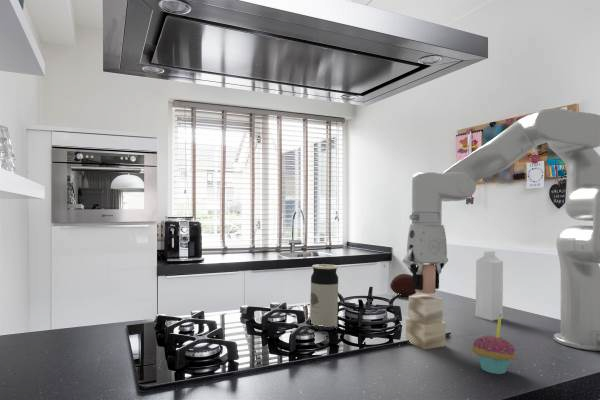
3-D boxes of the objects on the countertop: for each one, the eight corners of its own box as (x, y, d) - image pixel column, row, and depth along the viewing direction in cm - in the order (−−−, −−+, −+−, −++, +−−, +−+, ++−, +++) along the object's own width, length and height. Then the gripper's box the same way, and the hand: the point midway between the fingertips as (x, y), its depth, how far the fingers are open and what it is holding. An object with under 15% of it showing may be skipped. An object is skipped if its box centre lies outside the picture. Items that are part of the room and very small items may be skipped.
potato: (422, 298, 163) (422, 275, 163) (392, 298, 163) (393, 275, 163) (415, 294, 172) (415, 272, 172) (387, 293, 171) (387, 271, 172)
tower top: (442, 322, 104) (442, 298, 104) (425, 324, 101) (425, 300, 102) (425, 316, 109) (425, 294, 110) (408, 318, 107) (408, 296, 107)
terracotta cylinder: (439, 292, 105) (439, 265, 105) (424, 294, 102) (425, 266, 103) (425, 289, 109) (426, 263, 109) (411, 290, 107) (411, 264, 107)
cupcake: (490, 360, 93) (490, 308, 94) (524, 374, 86) (525, 317, 86) (463, 366, 89) (464, 311, 90) (498, 380, 82) (498, 321, 82)
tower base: (445, 346, 104) (445, 322, 104) (424, 349, 100) (424, 325, 101) (425, 338, 110) (426, 316, 110) (405, 341, 107) (405, 318, 107)
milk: (475, 316, 135) (475, 250, 136) (486, 314, 138) (486, 250, 139) (492, 321, 130) (492, 252, 131) (503, 318, 133) (503, 251, 134)
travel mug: (331, 323, 122) (332, 263, 123) (341, 331, 115) (342, 267, 115) (306, 324, 120) (307, 264, 121) (314, 332, 112) (316, 267, 113)
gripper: (411, 219, 99) (410, 293, 99) (461, 220, 107) (460, 289, 106) (391, 218, 106) (390, 288, 105) (440, 219, 113) (439, 284, 113)
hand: (425, 288), depth 106 cm, fingers closed on terracotta cylinder, 4 cm apart
